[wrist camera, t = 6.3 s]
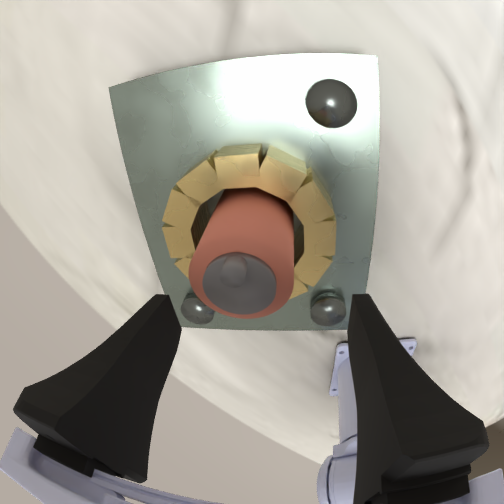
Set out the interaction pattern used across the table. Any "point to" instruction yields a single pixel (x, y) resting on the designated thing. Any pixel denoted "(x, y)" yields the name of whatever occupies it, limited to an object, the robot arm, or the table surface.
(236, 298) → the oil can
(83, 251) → the table surface
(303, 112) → the metal plate with ring
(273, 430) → the table surface
